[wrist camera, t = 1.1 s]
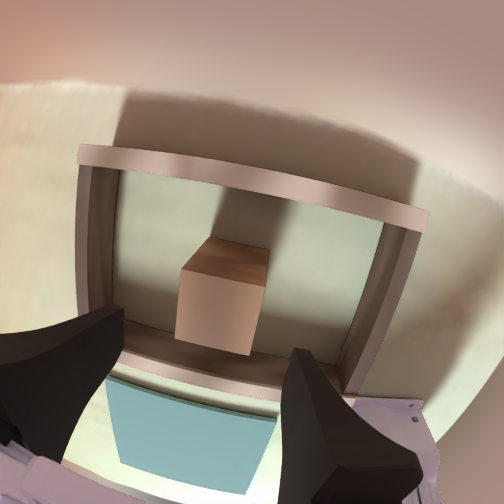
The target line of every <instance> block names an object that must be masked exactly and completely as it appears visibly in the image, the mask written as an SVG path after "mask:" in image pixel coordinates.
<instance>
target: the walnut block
mask: <svg viewBox="0 0 504 504" xmlns="http://www.w3.org/2000/svg"><path fill="white" fill-rule="evenodd" d="M268 258H269V250H267V249H262V248H258V247H253V246H248V245H243V244H239V243H234V242H229V241H224V240H219V239H214V238H210V237H209V238H208V239H207V240H206V241H205V242H204V243H203V244H202V246H201V247H200V248H199V249H198V250H197V251H196V252H195V254H194V255H193V256H192V257H191V258H190V259H189V261H188V262H187V263H186V264H185V265H184V266H183V268H182V269H181V276H180V286H179V295H178V306H177V316H176V328H175V339H179V340H183V341H186V342H190V343H194V344H198V345H203V346H207V347H211V348H215V349H220V350H224V351H229V352H233V353H238V354H243V355H248V356H249V355H250V351H251V347H252V343H253V338H254V334H255V330H256V326H257V322H258V317H259V313H260V309H261V305H262V300H263V296H264V292H265V287H266V278H267V268H268Z"/></svg>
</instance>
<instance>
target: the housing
mask: <svg viewBox="0 0 504 504" xmlns="http://www.w3.org/2000/svg"><path fill="white" fill-rule="evenodd" d="M77 164H80V165H79V174H78V185H77V199H76V219H75V275H76V295H77V309H78V317H79V316H81V315H84V314H86V313H89V312H92V311H94V310H97V309H99V308H102V307H104V306H107V305H111V304H112V251H113V231H114V216H115V204H116V194H117V184H118V176H119V169H121V170H129V171H136V172H143V173H150V174H157V175H163V176H170V177H176V178H182V179H188V180H194V181H200V182H205V183H211V184H217V185H222V186H227V187H233V188H238V189H243V190H248V191H253V192H258V193H263V194H268V195H273V196H278V197H282V198H287V199H292V200H296V201H301V202H305V203H309V204H314V205H318V206H322V207H327V208H331V209H335V210H339V211H343V212H347V213H351V214H355V215H359V216H363V217H367V218H371V219H375V220H379V221H382V222H385V224H384V228H383V231H382V235H381V238H380V242H379V245H378V249H377V252H376V255H375V259H374V262H373V265H372V268H371V271H370V274H369V277H368V281H367V284H366V287H365V289H364V292H363V295H362V298H361V301H360V304H359V307H358V309H357V312H356V315H355V318H354V320H353V323H352V326H351V328H350V331H349V333H348V336H347V339H346V341H345V344H344V346H343V349H342V351H341V353H340V356H339V358H338V361H337V363H336V365H335V366H333V365H325V364H318V365H319V367H320V368H321V370H322V371H323V373H324V374H325V376H326V377H327V379H328V380H329V382H330V383H331V384H332V386H333V387H334V388H335V390H336V391H337V392H338V393H339V394H340V396H341V397H342V398H343V399H344V400H345V402H346V403H347V404H348V405H349V406H350V407H351V408H352V406H353V404H354V402H355V401H356V394H357V393H358V391H359V389H360V387H361V385H362V383H363V381H364V379H365V377H366V375H367V373H368V371H369V369H370V367H371V365H372V363H373V361H374V358H375V356H376V354H377V352H378V350H379V348H380V345H381V343H382V341H383V339H384V336H385V334H386V332H387V329H388V327H389V325H390V322H391V320H392V317H393V315H394V312H395V310H396V307H397V305H398V302H399V299H400V297H401V294H402V291H403V289H404V286H405V283H406V280H407V278H408V275H409V272H410V269H411V266H412V263H413V260H414V257H415V254H416V250H417V247H418V244H419V241H420V237H421V234H422V233H425V229H426V225H427V222H428V218H429V214H430V212H428V211H425V210H422V209H419V208H416V207H413V206H409V205H406V204H403V203H400V202H397V201H393V200H390V199H387V198H383V197H380V196H376V195H373V194H369V193H365V192H362V191H358V190H354V189H350V188H347V187H343V186H339V185H335V184H331V183H327V182H323V181H318V180H314V179H310V178H306V177H301V176H297V175H292V174H288V173H283V172H278V171H274V170H269V169H264V168H259V167H253V166H248V165H243V164H237V163H232V162H226V161H220V160H214V159H208V158H202V157H196V156H189V155H182V154H175V153H167V152H160V151H152V150H143V149H134V148H125V147H114V146H101V145H89V144H79V150H78V158H77ZM290 360H291V359H287V358H281V357H276V356H270V355H265V354H259V353H254V352H250V355H249V356H248V355H243V354H238V353H233V352H229V351H224V350H220V349H215V348H211V347H207V346H203V345H198V344H194V343H190V342H186V341H183V340H179V339H175V334H172V333H168V332H165V331H161V330H157V329H154V328H150V327H147V326H143V325H140V324H137V323H133V322H130V321H127V320H124V349H123V350H122V352H121V354H120V356H119V358H118V360H117V362H119V363H122V364H124V365H127V366H130V367H133V368H137V369H140V370H143V371H146V372H149V373H152V374H156V375H159V376H163V377H166V378H170V379H173V380H177V381H180V382H184V383H188V384H192V385H196V386H200V387H204V388H208V389H213V390H217V391H221V392H226V393H231V394H236V395H241V396H246V397H251V398H257V399H262V400H268V401H274V402H281V392H282V384H283V381H284V378H285V375H286V372H287V369H288V366H289V363H290Z"/></svg>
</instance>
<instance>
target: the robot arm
mask: <svg viewBox="0 0 504 504" xmlns="http://www.w3.org/2000/svg"><path fill="white" fill-rule="evenodd" d="M123 349H124V308H122V307H119V306H115V305H112V304H111V305H107V306H104V307H102V308H99V309H97V310H94V311H92V312H89V313H86V314H84V315H81V316H79V317H76V318H74V319H71V320H68V321H65V322H62V323H59V324H56V325H53V326H49V327H45V328H41V329H37V330H32V331H25V332H18V333H7V334H0V504H150V503H147V502H145V501H142V500H140V499H137V498H135V497H132V496H130V495H127V494H125V493H122V492H119V491H117V490H114V489H112V488H109V487H107V486H104V485H102V484H100V483H97V482H95V481H93V480H91V479H88V478H86V477H84V476H82V475H80V474H78V473H76V472H74V471H72V470H70V469H68V468H66V467H64V466H62V465H60V464H61V461H62V458H63V455H64V453H65V450H66V447H67V445H68V442H69V440H70V438H71V435H72V433H73V431H74V429H75V427H76V424H77V422H78V420H79V418H80V416H81V414H82V412H83V410H84V409H85V407H86V405H87V403H88V402H89V400H90V399H91V397H92V396H93V394H94V393H95V392H96V390H97V389H98V387H99V386H100V385H101V383H102V382H103V381H104V379H105V378H106V376H107V375H108V374H109V372H110V371H111V370H112V368H113V367H114V365H115V364H116V362H117V360H118V358H119V356H120V354H121V352H122V350H123ZM423 405H424V402H423V400H421V399H386V398H369V397H356V401H355V402H354V404H353V406H352V408H351V407H350V406H349V405H348V404H347V403H346V402H345V400H344V399H343V398H342V397H341V396H340V394H339V393H338V392H337V391H336V390H335V388H334V387H333V386H332V384H331V383H330V382H329V380H328V379H327V377H326V376H325V374H324V373H323V371H322V370H321V368H320V367H319V365H318V363H317V362H316V360H315V359H314V357H313V355H312V354H311V352H310V351H309V350H304V349H298V348H294V351H293V354H292V357H291V360H290V363H289V366H288V369H287V372H286V375H285V378H284V381H283V384H282V392H281V404H280V407H281V429H282V468H281V478H280V488H279V496H278V503H277V504H445V503H444V500H443V498H442V496H441V493H440V491H439V489H438V487H437V485H436V484H435V482H436V480H437V477H438V474H439V470H440V456H439V451H438V449H437V446H436V444H435V442H434V439H433V437H432V435H431V432H430V430H429V428H428V425H427V423H426V421H425V419H424V417H423V414H422V412H421V408H422V407H423Z"/></svg>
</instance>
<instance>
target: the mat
mask: <svg viewBox="0 0 504 504" xmlns="http://www.w3.org/2000/svg"><path fill="white" fill-rule="evenodd" d="M105 384H106V391H107V397H108V403H109V409H110V415H111V420H112V426H113V431H114V435H115V440H116V445H117V449H118V453H119V457H120V462H121V463H123V464H126V465H129V466H131V467H134V468H137V469H140V470H143V471H146V472H149V473H152V474H155V475H158V476H162V477H165V478H169V479H172V480H176V481H179V482H183V483H187V484H191V485H195V486H200V487H204V488H209V489H214V490H219V491H224V492H230V493H236V494H242V495H245V493H246V491H247V489H248V487H249V485H250V483H251V481H252V478H253V476H254V474H255V472H256V470H257V467H258V465H259V463H260V461H261V458H262V456H263V454H264V451H265V449H266V447H267V444H268V442H269V440H270V437H271V435H272V433H273V430H274V428H275V425H276V423H277V419H275V418H268V417H262V416H256V415H250V414H245V413H240V412H235V411H230V410H225V409H220V408H216V407H211V406H207V405H203V404H199V403H195V402H191V401H187V400H183V399H179V398H176V397H172V396H169V395H165V394H162V393H158V392H155V391H152V390H149V389H145V388H142V387H139V386H136V385H133V384H130V383H127V382H124V381H122V380H119V379H116V378H113V377H111V376H108V375H107V376H106V378H105Z"/></svg>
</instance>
